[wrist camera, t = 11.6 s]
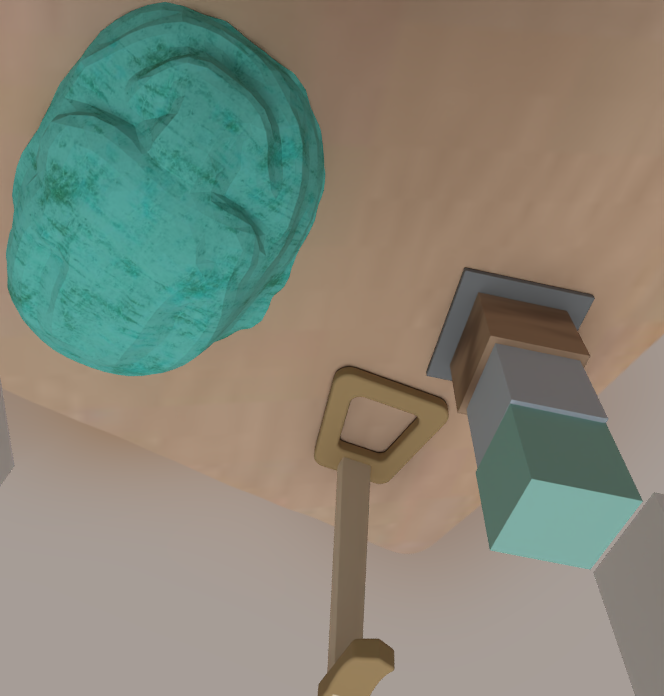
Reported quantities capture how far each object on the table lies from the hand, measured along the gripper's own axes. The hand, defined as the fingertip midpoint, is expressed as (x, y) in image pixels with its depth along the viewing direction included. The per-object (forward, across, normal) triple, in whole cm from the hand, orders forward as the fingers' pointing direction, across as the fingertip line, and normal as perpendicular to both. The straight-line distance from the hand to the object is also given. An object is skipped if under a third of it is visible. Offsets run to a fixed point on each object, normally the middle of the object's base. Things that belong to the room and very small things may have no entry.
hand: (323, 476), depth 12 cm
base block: (+31, +15, -14) cm, 37 cm away
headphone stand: (+32, +7, -26) cm, 42 cm away
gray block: (+25, +15, -14) cm, 32 cm away
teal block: (+19, +15, -14) cm, 28 cm away
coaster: (+32, +15, -14) cm, 38 cm away
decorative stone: (+32, -12, -10) cm, 36 cm away
